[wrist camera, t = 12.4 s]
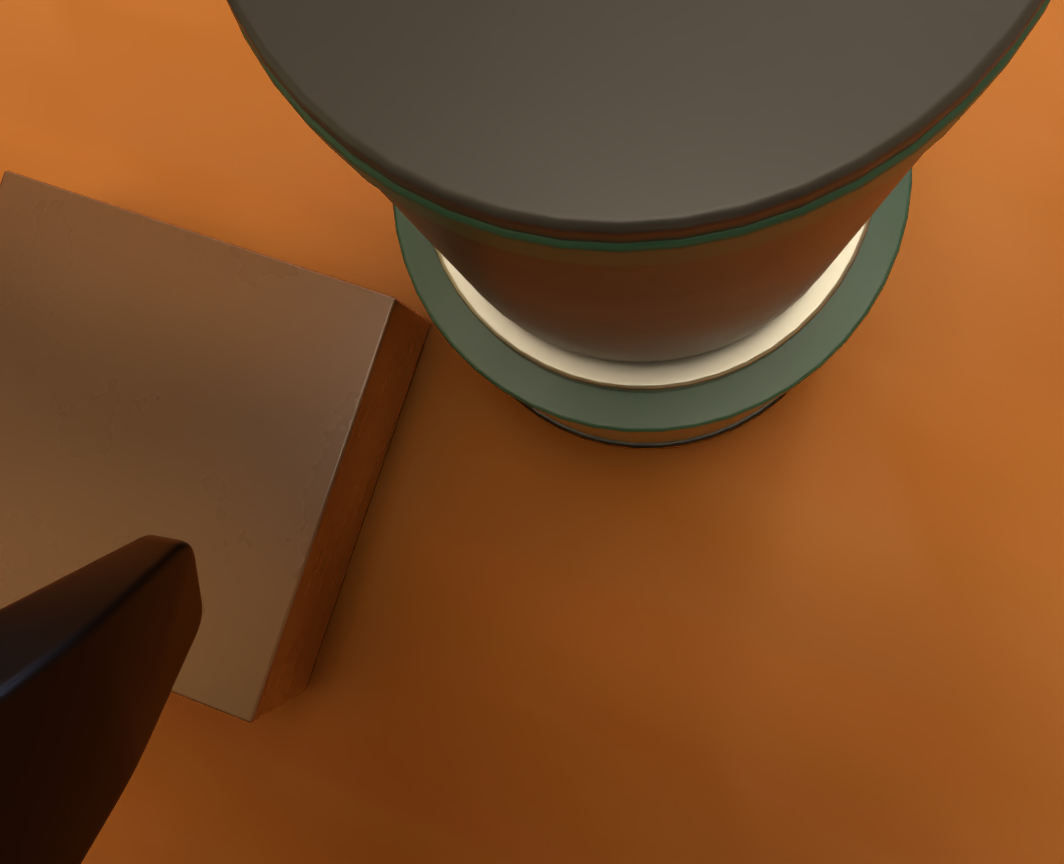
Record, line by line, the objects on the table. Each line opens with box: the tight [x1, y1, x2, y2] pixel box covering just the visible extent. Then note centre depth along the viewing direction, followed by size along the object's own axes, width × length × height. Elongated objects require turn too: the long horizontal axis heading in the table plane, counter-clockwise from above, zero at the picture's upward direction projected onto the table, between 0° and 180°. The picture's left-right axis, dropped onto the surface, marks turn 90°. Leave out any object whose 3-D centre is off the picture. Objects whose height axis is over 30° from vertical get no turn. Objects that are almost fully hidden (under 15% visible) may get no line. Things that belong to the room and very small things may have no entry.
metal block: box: [0, 171, 430, 723], centre depth 21 cm, size 8×8×3 cm
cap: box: [227, 0, 1050, 362], centre depth 10 cm, size 6×6×8 cm
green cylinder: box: [393, 168, 912, 449], centre depth 18 cm, size 8×8×8 cm
